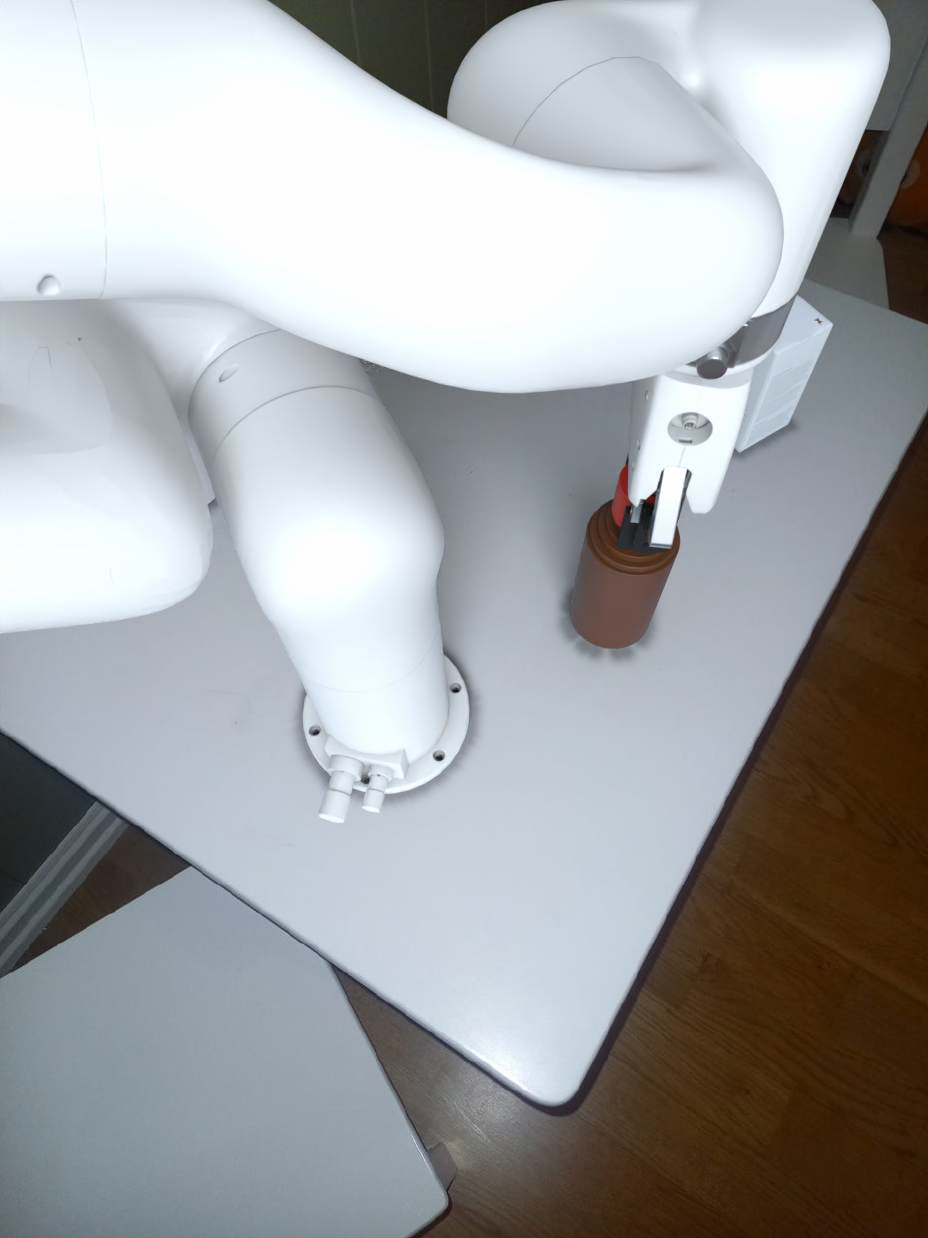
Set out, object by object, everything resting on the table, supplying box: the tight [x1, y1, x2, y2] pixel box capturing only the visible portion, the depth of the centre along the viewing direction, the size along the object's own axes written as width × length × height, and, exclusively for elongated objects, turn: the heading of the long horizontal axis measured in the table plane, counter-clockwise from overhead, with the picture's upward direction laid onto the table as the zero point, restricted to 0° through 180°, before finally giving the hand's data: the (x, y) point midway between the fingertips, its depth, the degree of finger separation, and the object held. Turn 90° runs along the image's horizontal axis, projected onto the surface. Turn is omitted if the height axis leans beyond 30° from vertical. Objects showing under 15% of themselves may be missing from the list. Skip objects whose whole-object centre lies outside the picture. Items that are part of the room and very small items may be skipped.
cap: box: [612, 463, 656, 527], centre depth 54 cm, size 4×4×3 cm
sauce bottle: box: [569, 498, 681, 650], centre depth 60 cm, size 6×6×16 cm
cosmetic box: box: [734, 294, 834, 453], centre depth 72 cm, size 6×4×12 cm
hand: (643, 517), depth 56 cm, fingers closed on cap, 3 cm apart
